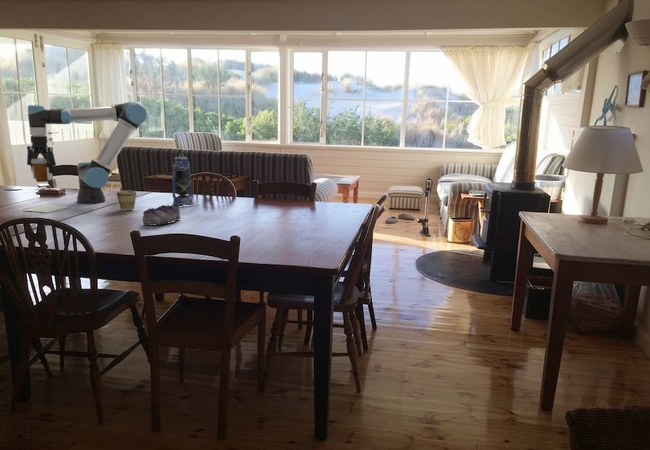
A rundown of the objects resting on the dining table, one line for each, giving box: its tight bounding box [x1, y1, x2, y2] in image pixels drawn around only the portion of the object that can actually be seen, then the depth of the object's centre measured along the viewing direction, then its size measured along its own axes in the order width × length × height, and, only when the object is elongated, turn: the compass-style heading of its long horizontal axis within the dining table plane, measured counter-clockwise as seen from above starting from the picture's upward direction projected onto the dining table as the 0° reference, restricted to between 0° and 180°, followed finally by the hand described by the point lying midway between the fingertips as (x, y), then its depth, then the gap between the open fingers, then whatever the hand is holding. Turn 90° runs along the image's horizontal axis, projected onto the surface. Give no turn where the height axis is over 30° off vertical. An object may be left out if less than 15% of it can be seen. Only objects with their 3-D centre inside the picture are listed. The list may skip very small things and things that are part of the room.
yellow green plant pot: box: [116, 190, 137, 211], centre depth 273 cm, size 13×10×10 cm
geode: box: [142, 204, 181, 226], centre depth 245 cm, size 20×12×10 cm, turn 152°
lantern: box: [171, 153, 194, 206], centre depth 288 cm, size 15×12×30 cm
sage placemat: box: [22, 204, 69, 214], centre depth 267 cm, size 15×15×1 cm
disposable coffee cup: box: [31, 157, 51, 183], centre depth 263 cm, size 10×10×12 cm
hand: (43, 178), depth 264 cm, fingers closed on disposable coffee cup, 8 cm apart
